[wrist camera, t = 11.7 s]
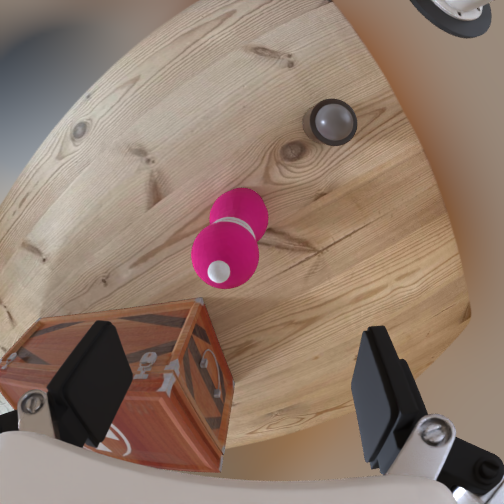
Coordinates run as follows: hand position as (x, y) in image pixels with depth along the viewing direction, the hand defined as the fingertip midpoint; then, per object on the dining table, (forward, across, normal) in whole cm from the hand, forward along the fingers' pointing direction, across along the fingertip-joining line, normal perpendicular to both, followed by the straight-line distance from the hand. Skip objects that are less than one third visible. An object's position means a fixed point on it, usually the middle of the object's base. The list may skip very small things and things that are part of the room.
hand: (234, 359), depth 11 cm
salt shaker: (+32, -8, -8) cm, 34 cm away
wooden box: (+32, +28, +31) cm, 52 cm away
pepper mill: (+32, +3, +3) cm, 33 cm away
